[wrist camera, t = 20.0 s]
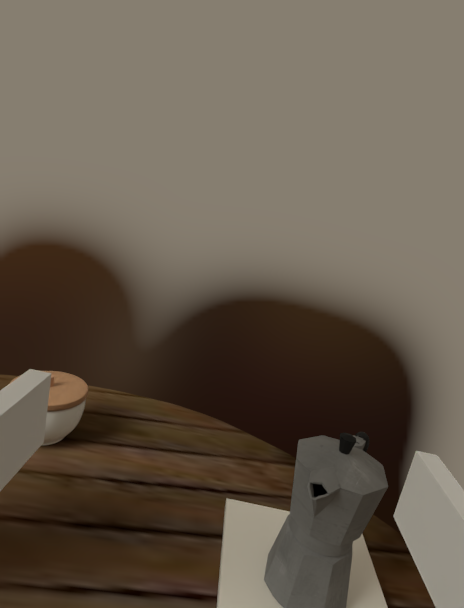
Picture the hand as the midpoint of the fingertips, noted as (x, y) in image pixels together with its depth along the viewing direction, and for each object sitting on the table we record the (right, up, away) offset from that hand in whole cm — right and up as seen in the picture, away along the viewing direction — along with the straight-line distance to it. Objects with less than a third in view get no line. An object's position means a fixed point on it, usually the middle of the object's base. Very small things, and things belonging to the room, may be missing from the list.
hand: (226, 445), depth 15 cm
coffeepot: (+9, -25, +31) cm, 41 cm away
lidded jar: (-28, -14, +47) cm, 57 cm away
